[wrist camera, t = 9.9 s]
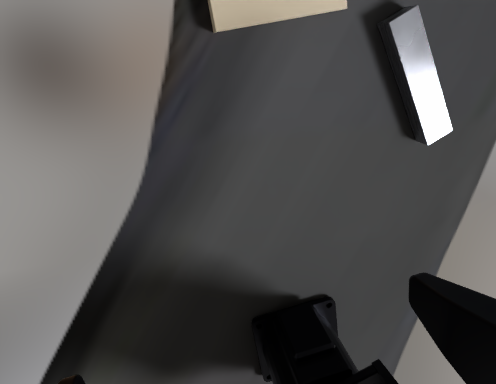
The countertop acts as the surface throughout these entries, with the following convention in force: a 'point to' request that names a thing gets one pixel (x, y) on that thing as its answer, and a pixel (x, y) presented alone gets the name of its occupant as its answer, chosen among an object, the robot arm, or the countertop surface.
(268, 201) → the countertop surface
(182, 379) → the countertop surface
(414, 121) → the bar
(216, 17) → the beige square plate
